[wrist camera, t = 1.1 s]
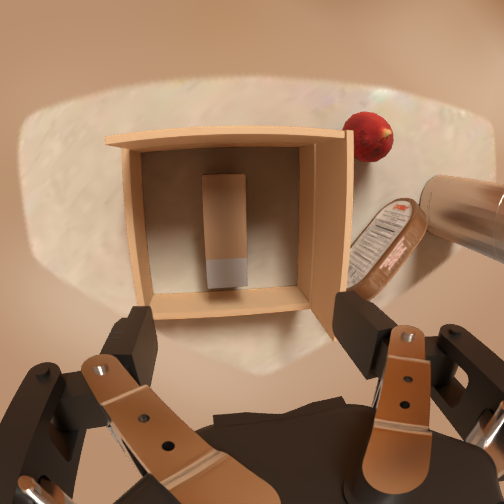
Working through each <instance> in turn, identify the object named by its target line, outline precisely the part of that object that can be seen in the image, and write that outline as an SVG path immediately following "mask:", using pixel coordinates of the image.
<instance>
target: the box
mask: <svg viewBox="0 0 504 504" xmlns="http://www.w3.org/2000/svg"><path fill="white" fill-rule="evenodd" d="M202 199H203V221H204V240H205V256H206V271H207V285H208V289H211V288H228V287H243V286H248V279H247V230H246V176H245V174H241V173H225V174H203V175H202Z"/></svg>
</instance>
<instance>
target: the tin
mask: <svg viewBox="0 0 504 504" xmlns="http://www.w3.org/2000/svg"><path fill="white" fill-rule="evenodd" d="M427 225H428V218H427V215H426V213H425V212H424V211H423V210H422V209H421V208H420V206H419V205H418V204H417V203H416V202H415V201H414V200H413V199H410V198H400V199H396V200H394V201H392V202H390V203H389V204H387V205H386V206H385V207H383V208H382V209H381V210H380V211H379V212H378V213H377V214H376V216H375V217H374V218H373V219H372V221H371V222H370V223H369V224H368V226H367V227H366V228H365V229H364V230H363V232H362V233H361V234H360V235H359V237H358V238H357V239H356V240H355V241H354V243H353V244H352V245H351V246H350V256H349V268H348V278H347V287H346V291H352V290H353V291H355V292H356V293H357V294H358V295H359V296H360V297H362V298H363V299H365V300H367V301H369V300H371V299H372V298H374V297H375V296H376V295H377V294H378V293H379V292H380V291H381V290H382V289H383V288H384V287H385V286H386V284H387V283H388V282H389V281H390V279H391V278H392V277H393V276H394V275H395V273H396V272H397V271H398V269H399V268H400V267H401V266H402V264H403V263H404V262H405V261H406V259H407V258H408V257H409V255H410V254H411V253H412V252H413V250H414V249H415V248H416V246H417V245H418V244H419V242H420V241H421V239H422V238H423V236H424V234H425V232H426V229H427Z"/></svg>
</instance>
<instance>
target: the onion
mask: <svg viewBox="0 0 504 504" xmlns="http://www.w3.org/2000/svg"><path fill="white" fill-rule="evenodd" d="M344 130H353V134H354V158H356V159H358V160H359V161H362V162H376V161H378V160H380V159H381V158H383V157H385V156H386V155H387V154H388V152H389V151H390V150H391V148H392V144H393V132H392V129H391V127H390V125H389V124H388V123H387V122H386V120H385V119H384V118H382V117H381V116H379V115H377V114H375V113H370V112H360V113H357V114H354V115H352V116H351V117H350V118H349V119H348V120H347V121H346V122H345V125H344V127H343V130H342V131H344Z"/></svg>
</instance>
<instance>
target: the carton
mask: <svg viewBox="0 0 504 504" xmlns="http://www.w3.org/2000/svg"><path fill="white" fill-rule="evenodd" d="M105 145H110V146H115V147H120V148H122V175H123V192H124V206H125V217H126V227H127V237H128V245H129V253H130V261H131V268H132V274H133V281H134V287H135V293H136V298H137V304H138V306H150V307H151V309H152V314H153V319H154V320H160V319H186V318H206V317H223V316H237V315H251V314H263V313H274V312H284V311H294V310H304V309H311V310H312V312H313V313H314V314H315V316H316V317H317V319H318V320H319V322H320V323H321V324H322V326H323V327H324V329H325V330H326V332H327V333H328V335H329V336H330V337H331V339H332V340H333V342H336V341H338V340H337V339H336V337H335V336H334V333H333V330H332V320H333V312H334V303H335V296H336V294H337V292H344V291H346V287H347V278H348V268H349V256H350V244H351V229H352V210H353V180H354V134H353V130H344V131H341V130H331V129H319V128H304V127H284V126H210V127H190V128H175V129H163V130H153V131H144V132H135V133H127V134H120V135H113V136H106V137H105ZM212 147H299V166H300V184H299V245H298V274H297V286H286V287H273V288H260V289H246V290H231V291H214V292H196V293H176V294H153V287H152V280H151V273H150V265H149V257H148V248H147V239H146V229H145V218H144V205H143V189H142V169H141V153H143V152H153V151H164V150H177V149H192V148H212Z"/></svg>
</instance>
